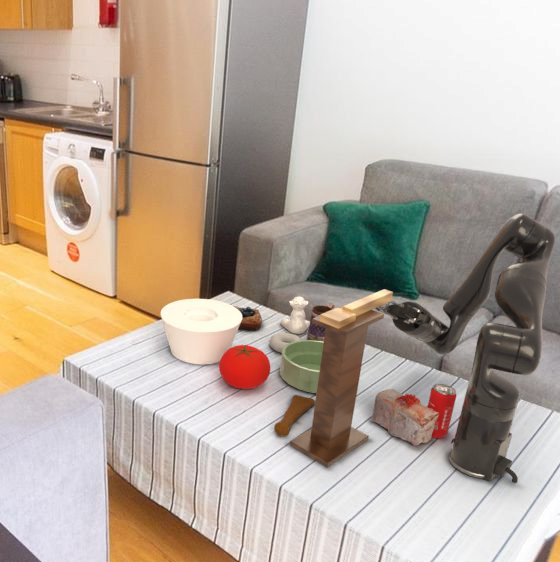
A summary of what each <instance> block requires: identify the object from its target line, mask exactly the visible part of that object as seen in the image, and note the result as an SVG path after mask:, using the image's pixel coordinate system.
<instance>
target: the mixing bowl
mask: <svg viewBox="0 0 560 562" xmlns="http://www.w3.org/2000/svg"><path fill="white" fill-rule="evenodd" d="M323 343H324V342H323V341H316V340H307V339H301V340H299V341H294V342H291V343H289V344H286V345H285V346H284V347H283V349H282V353H281V358H280V360H281V361H280V367H279V374H280V377H281V379H282V380H283V381H284V382H286V383H287V384H288V385H289V386H292V387H294V388H295V389H298V390H300V391H304V392H307V393H311V394H312V393H313V394H317V386H318V379H319V372H320V365H321V358H322V351H323Z"/></svg>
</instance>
